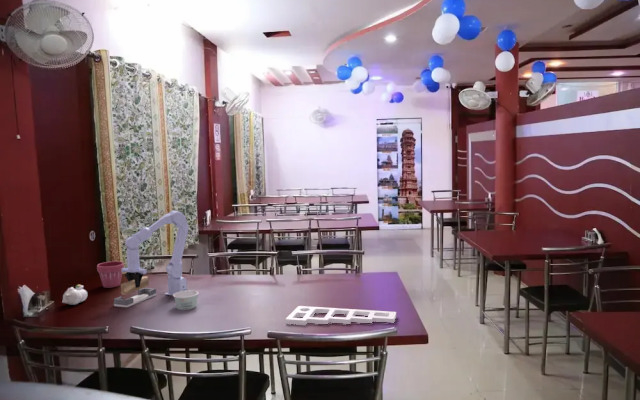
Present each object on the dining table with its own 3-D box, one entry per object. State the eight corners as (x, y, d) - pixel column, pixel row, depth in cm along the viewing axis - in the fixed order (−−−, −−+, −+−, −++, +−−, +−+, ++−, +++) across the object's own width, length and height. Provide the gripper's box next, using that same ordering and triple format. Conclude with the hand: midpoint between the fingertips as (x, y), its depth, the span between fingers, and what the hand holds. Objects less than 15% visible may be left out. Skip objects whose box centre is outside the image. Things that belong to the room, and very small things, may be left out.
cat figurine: (83, 281, 246) (63, 285, 231) (95, 289, 244) (75, 294, 229) (74, 296, 246) (54, 302, 231) (86, 304, 245) (66, 310, 230)
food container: (176, 312, 220) (175, 298, 219) (171, 305, 230) (170, 292, 230) (202, 308, 225) (201, 294, 225) (196, 301, 236) (195, 288, 235)
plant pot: (130, 284, 273) (128, 262, 272) (108, 290, 261) (106, 267, 260) (115, 281, 280) (113, 260, 279) (93, 287, 269) (91, 265, 267)
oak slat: (148, 286, 247) (148, 276, 246) (126, 294, 232) (125, 284, 232) (144, 285, 248) (143, 276, 247) (121, 294, 233) (120, 284, 233)
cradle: (156, 295, 249) (155, 288, 248) (126, 307, 229) (126, 300, 229) (144, 294, 252) (143, 287, 251) (114, 306, 232) (113, 299, 232)
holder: (396, 317, 206) (396, 311, 205) (391, 333, 188) (391, 326, 188) (298, 311, 218) (298, 305, 217) (285, 325, 200) (285, 319, 200)
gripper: (116, 261, 237) (118, 287, 239) (139, 263, 232) (140, 290, 233) (126, 258, 244) (128, 284, 245) (149, 260, 239) (150, 286, 240)
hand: (135, 286), depth 240 cm, fingers closed on oak slat, 3 cm apart
